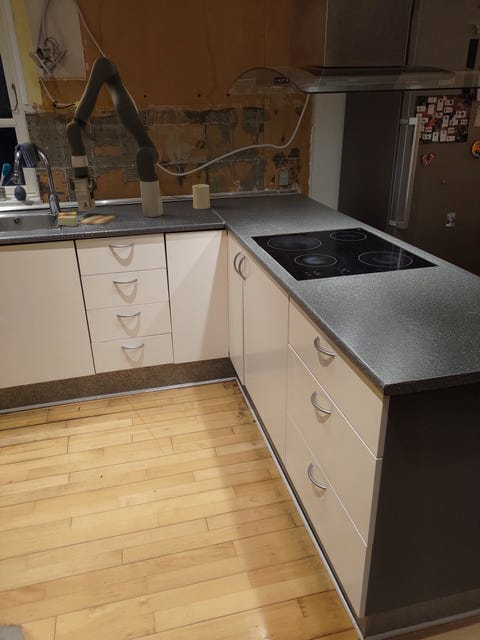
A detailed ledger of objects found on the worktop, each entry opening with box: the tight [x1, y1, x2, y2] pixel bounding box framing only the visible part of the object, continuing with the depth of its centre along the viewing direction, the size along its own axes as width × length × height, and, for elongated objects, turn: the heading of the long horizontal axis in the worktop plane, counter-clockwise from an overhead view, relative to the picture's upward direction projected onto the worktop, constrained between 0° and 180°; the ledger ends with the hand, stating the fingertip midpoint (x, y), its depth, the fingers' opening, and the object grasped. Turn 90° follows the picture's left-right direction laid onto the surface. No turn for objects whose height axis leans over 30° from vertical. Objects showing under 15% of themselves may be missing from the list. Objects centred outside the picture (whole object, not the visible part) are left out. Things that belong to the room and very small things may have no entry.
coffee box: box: [73, 175, 97, 212], centre depth 247 cm, size 9×6×16 cm
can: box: [191, 183, 211, 210], centre depth 262 cm, size 9×9×12 cm
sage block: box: [57, 216, 79, 227], centre depth 232 cm, size 8×4×4 cm, turn 83°
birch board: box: [79, 215, 117, 226], centre depth 239 cm, size 12×14×1 cm
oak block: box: [57, 211, 78, 217], centre depth 239 cm, size 8×4×4 cm, turn 102°
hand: (85, 198), depth 248 cm, fingers closed on coffee box, 7 cm apart
